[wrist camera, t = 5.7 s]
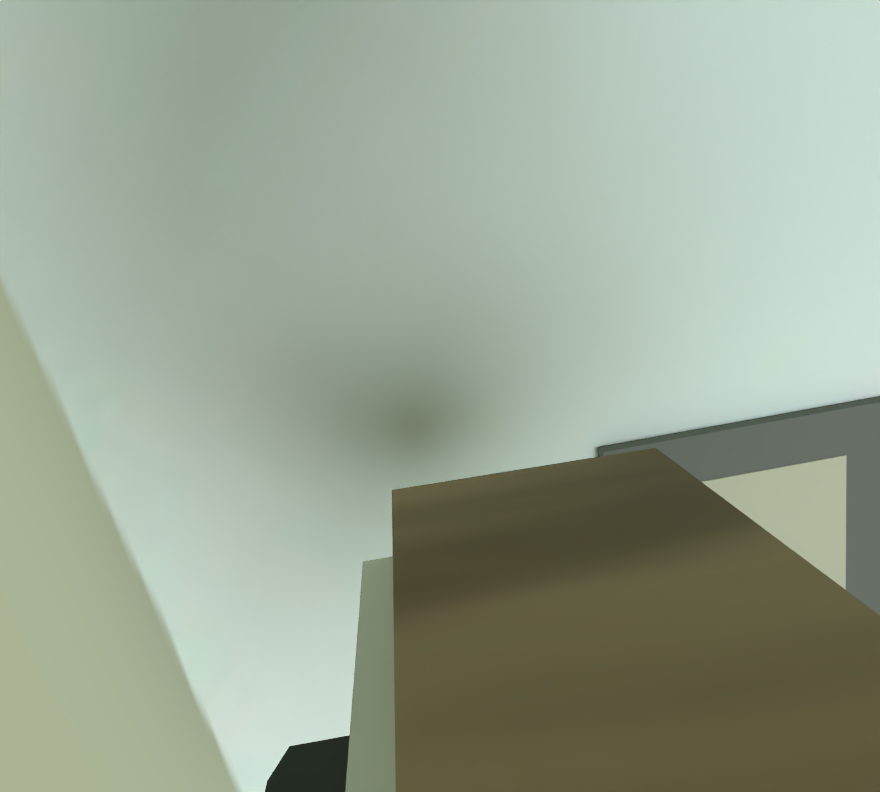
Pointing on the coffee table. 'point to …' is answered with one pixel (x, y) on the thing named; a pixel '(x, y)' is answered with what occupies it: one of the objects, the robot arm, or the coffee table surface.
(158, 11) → the coffee table surface
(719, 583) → the walnut block
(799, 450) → the mat
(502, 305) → the coffee table surface
